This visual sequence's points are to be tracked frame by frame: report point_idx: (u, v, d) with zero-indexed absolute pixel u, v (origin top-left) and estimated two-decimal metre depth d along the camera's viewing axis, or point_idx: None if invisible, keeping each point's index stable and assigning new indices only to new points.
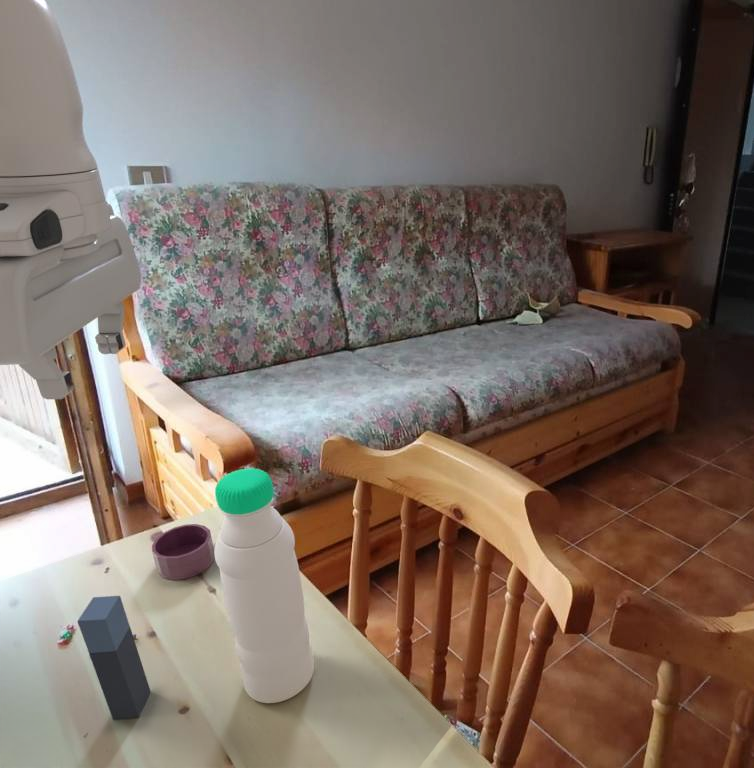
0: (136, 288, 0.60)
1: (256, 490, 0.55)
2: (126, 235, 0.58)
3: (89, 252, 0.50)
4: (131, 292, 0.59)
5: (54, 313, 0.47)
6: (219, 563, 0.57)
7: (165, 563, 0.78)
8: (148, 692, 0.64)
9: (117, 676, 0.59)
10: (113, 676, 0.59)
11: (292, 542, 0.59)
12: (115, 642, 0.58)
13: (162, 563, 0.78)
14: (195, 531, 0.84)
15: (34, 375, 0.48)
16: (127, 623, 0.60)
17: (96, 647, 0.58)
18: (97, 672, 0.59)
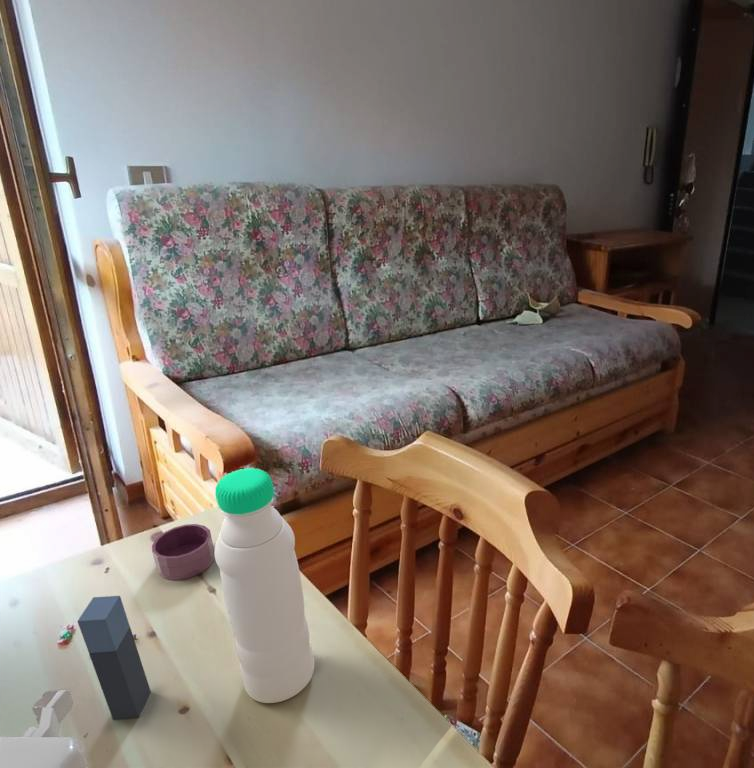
0: None
1: (256, 490, 0.55)
2: None
3: None
4: None
5: None
6: (219, 562, 0.57)
7: (165, 563, 0.78)
8: (148, 692, 0.64)
9: (117, 676, 0.59)
10: (113, 676, 0.59)
11: (292, 542, 0.59)
12: (115, 642, 0.58)
13: (162, 563, 0.78)
14: (195, 531, 0.84)
15: None
16: (127, 623, 0.60)
17: (96, 647, 0.58)
18: (97, 672, 0.59)
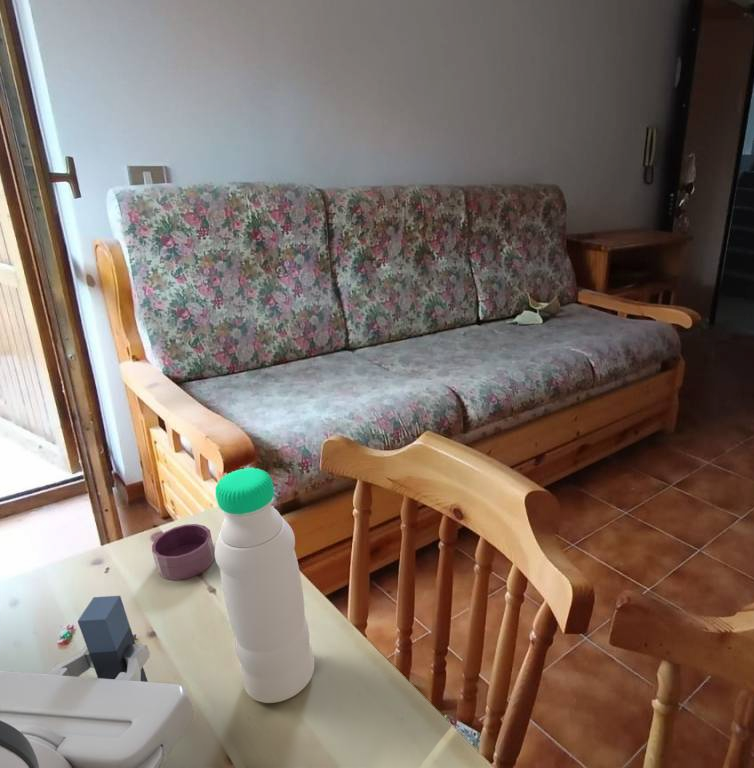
0: None
1: (256, 490, 0.55)
2: None
3: None
4: None
5: None
6: (219, 562, 0.57)
7: (165, 563, 0.78)
8: None
9: None
10: (113, 676, 0.59)
11: (292, 542, 0.59)
12: (115, 642, 0.58)
13: (162, 563, 0.78)
14: (195, 531, 0.84)
15: (71, 659, 0.59)
16: (127, 623, 0.60)
17: (96, 647, 0.58)
18: (97, 672, 0.59)
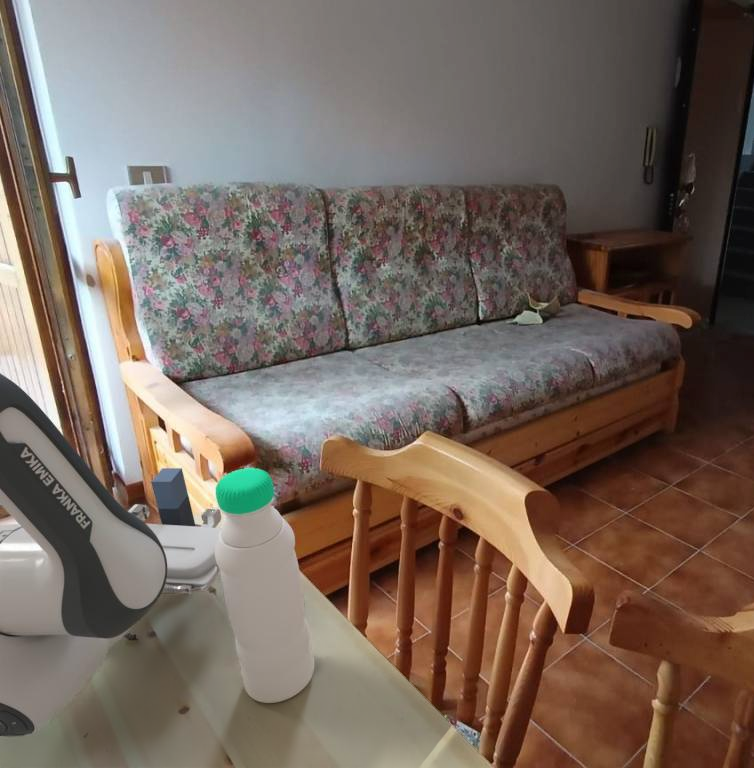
0: None
1: (256, 490, 0.55)
2: None
3: None
4: None
5: None
6: (219, 562, 0.57)
7: None
8: None
9: None
10: None
11: (292, 542, 0.59)
12: (177, 501, 0.77)
13: None
14: None
15: None
16: (186, 491, 0.79)
17: (163, 504, 0.76)
18: None
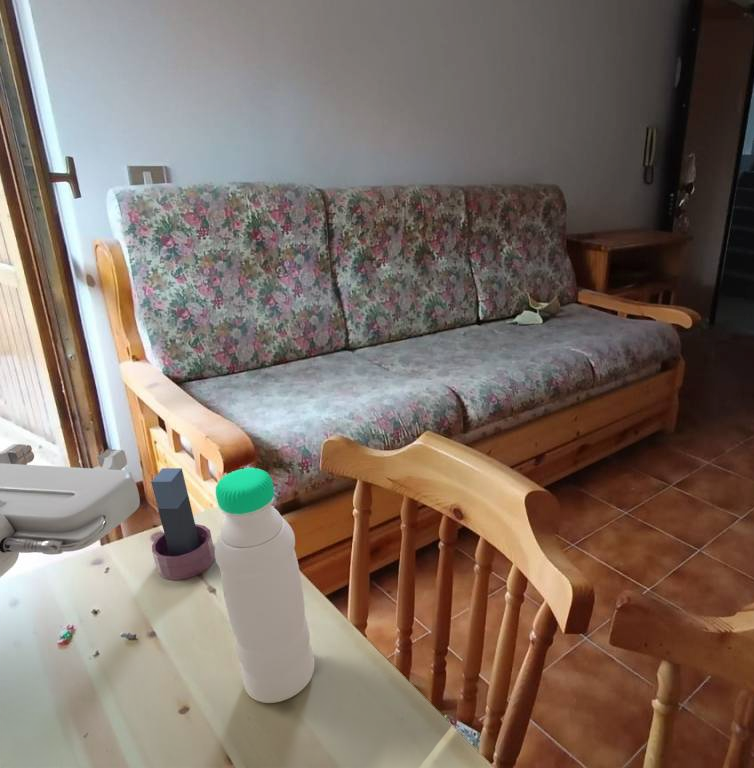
0: None
1: (256, 490, 0.55)
2: None
3: None
4: None
5: None
6: (219, 562, 0.57)
7: (165, 563, 0.78)
8: None
9: (177, 529, 0.78)
10: (174, 529, 0.78)
11: (292, 542, 0.59)
12: (177, 501, 0.77)
13: (162, 563, 0.78)
14: None
15: None
16: (186, 491, 0.79)
17: (163, 504, 0.76)
18: (163, 525, 0.78)
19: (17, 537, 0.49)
